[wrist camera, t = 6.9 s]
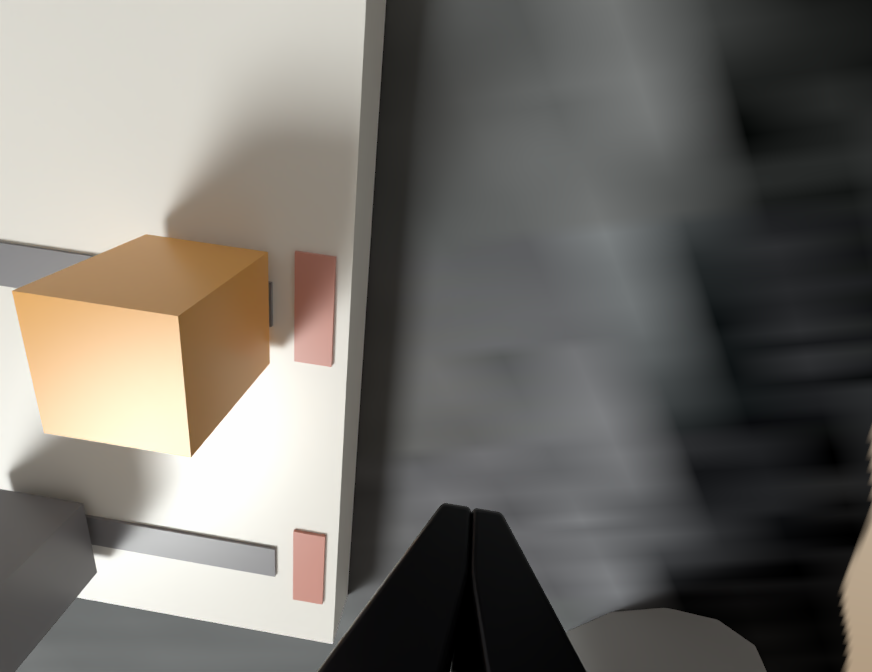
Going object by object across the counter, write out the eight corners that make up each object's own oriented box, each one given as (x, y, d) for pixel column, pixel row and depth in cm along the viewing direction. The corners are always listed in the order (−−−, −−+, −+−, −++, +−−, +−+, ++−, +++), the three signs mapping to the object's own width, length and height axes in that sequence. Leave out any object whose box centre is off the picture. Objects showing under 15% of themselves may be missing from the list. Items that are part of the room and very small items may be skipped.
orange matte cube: (158, 345, 15) (43, 433, 11) (146, 233, 13) (11, 291, 10) (269, 363, 14) (191, 457, 11) (267, 252, 13) (177, 316, 9)
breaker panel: (23, 538, 22) (-23, 581, 20) (-228, -384, 11) (-378, -479, 9) (347, 595, 21) (332, 646, 19) (407, -328, 10) (385, -419, 9)
